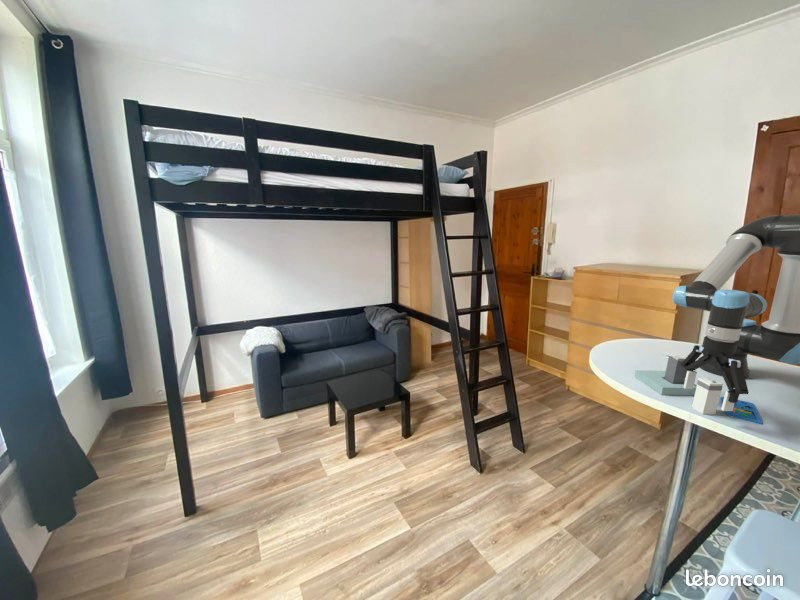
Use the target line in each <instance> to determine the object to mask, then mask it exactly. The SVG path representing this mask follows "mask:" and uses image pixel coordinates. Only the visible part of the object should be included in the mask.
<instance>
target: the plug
mask: <svg viewBox="0 0 800 600" xmlns="http://www.w3.org/2000/svg"><path fill="white" fill-rule="evenodd" d="M685 359H686V357H682V356H680V355H672V356H668V359H667V364H666V368H665V371H666V372H665V377H664V379H665V380H667V381H668V382H670V383H672V384H684V380H685V372H686V369H685V367H684V366H681V363H682V362H683V361H684V360H685Z"/></svg>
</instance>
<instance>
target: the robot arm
mask: <svg viewBox="0 0 800 600" xmlns="http://www.w3.org/2000/svg"><path fill="white" fill-rule="evenodd" d="M763 248H770V249H771V248H772V249H778V250H777V255H778V256H780V257H781V259H782V262H781V266H780V270H779V275H778V279H777V283H776V286H775V287H776V288H775V291H774V296H773V299H772V304H771V308H770V313H769V317H768V319H767V320H766V321H763V322H762V323H761V325H758V324H757V322H756V320H753V319H748V318H753V317H757V316H759V315H761V314H762V313H764V312H765V311H766V310H767V308H768V302H767V300H766V299H765V298H764V297H763V296H762V295H760V294H756V293H749V292H747V291H742V290H738V289H737V290H736V289H723V286H724V285H726V283H727V282H728V281H729V280H730V279H731V278H732V276H733V275H734V274H735V273H736V272H737V271H738V269H740V267H742V265H743V264H744V263H745V261H746V260H747V259H749V257H750V256H751V255H752V254H755V253H757V252H759V251H760V250H761V249H763ZM671 300H672V303H673V304H674V305H676V306H680V307H684V308H689V309H695V310H700V311H701V310H702V311H706V312H709V316H708V320H707V324H706V329H705V332H704V334H705V336H703V341H702V344H701V345H700V344H699V345H698V344H697V345H696V344H695V345H693V348H692V351H691V352H690V353H689V354H688V355H687V356H686V357H685V360H684V361H683V362H682V363H681V366H684V367H685V369H686V372H685V383H684V387H683V388H685V389H693V387H694V384H695V381H696V378H697V374H698V373H697V370H698V369H702V370H704V371H706V372H708V373H711V374H714V375H716V376H717V375H718V376H720V377H721V376H722V379H723V381H724V383H725V384H726V387H727V388H728V390H725V393H724V396H723V397H724V400H723V404H722V403H721V408H720V409H721V411H722V412H724V411H733V407H734V404H735V403H737V401H738V400H739V397H740V395H749V388H748V383H747V380H746V379H747V378H749V376H750V372H751V371H750V368H749V363H748V354H749V355H753V356H757V357H761V358H765V359H769V360H773V361H776V362H779V363H786V364H790V365H799V364H800V214H783V215H782V214H774V215H768V216H763V217H761V218H757V219H755V220H753V221H751V222H748V223H746V224H745V225H743V226H741V227H739V228H738V229H736V230H735V231H734V232H733V233H731V235H730V236H728V238H726V241H725V246H724V247H723V248H722V249H721V250H720V252H718V254H717V255H716V256H715V257H714V258H713V259H712V260H711V262H710V263H708V265H707V266H706V267H705V268H704V270H702V272H700V274H699V275H698V276H697V277H695V279H694V280H693V281H692V282H691V284H689V285H679V286H677V287H676V288H675V289H674V291H673V293H672V299H671ZM701 355H702V356H701Z"/></svg>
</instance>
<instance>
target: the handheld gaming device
mask: <svg viewBox="0 0 800 600" xmlns="http://www.w3.org/2000/svg"><path fill="white" fill-rule="evenodd" d="M719 400H720V402H721V405H722V404H723V400H724V396H720V397H719ZM723 413H724V415H726V416H729V417H732V418H735V419H739V420H744V421H746V422H750V423H755V424H758V425H763V421H762V419H761V417H760V414H759V412H758V410H757V408H756V406H755V404H754V403H753V402H750V401H745V400H741V399H738V401H737V403H735V404H734V407H733V411H723Z"/></svg>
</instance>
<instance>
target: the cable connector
mask: <svg viewBox="0 0 800 600" xmlns="http://www.w3.org/2000/svg"><path fill="white" fill-rule="evenodd" d="M696 385H697V387H696V392H695V395H693V396H694V397H693V399H692V400H693V401H692V406H691V408H692V409H694V410H695V411H697V412H699V414H702V415H716V413H717V408H718V404H719V400H720V398H721V393H722V390H723V383H722V382H719V381H717V380H715V379H714V378H712V377H698V379H697V383H696Z"/></svg>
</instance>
